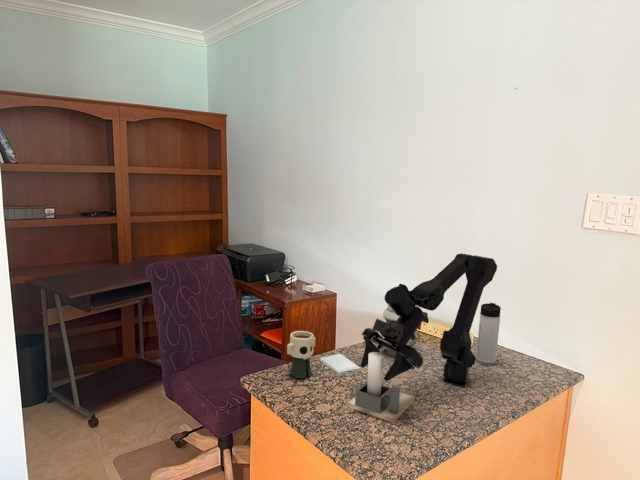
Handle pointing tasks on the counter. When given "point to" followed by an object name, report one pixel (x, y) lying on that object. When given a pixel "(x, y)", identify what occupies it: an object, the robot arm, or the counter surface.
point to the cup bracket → (378, 399)
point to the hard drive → (340, 364)
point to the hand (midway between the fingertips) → (372, 373)
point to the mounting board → (386, 415)
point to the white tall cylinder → (374, 374)
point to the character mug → (301, 352)
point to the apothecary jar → (389, 317)
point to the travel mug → (488, 334)
